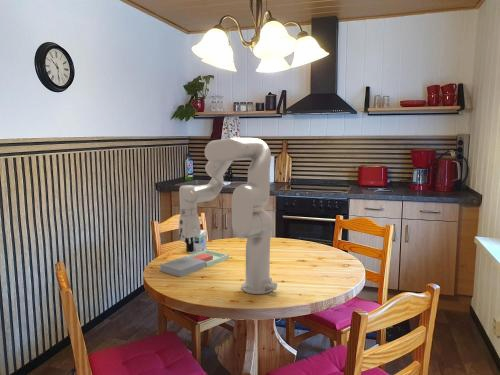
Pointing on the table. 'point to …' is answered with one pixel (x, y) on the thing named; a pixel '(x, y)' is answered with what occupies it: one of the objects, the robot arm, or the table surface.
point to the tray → (216, 257)
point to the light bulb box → (200, 242)
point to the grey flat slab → (182, 266)
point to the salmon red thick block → (204, 257)
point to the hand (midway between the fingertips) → (190, 251)
